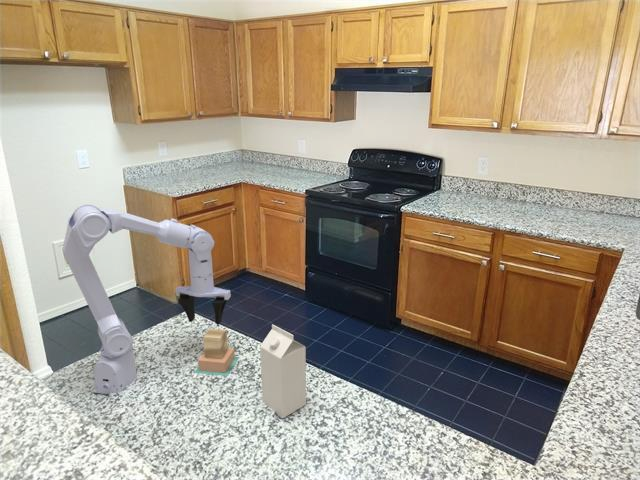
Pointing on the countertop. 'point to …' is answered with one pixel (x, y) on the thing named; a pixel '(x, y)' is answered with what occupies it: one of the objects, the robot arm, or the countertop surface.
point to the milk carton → (283, 372)
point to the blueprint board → (219, 373)
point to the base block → (216, 362)
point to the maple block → (215, 343)
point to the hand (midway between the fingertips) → (205, 321)
